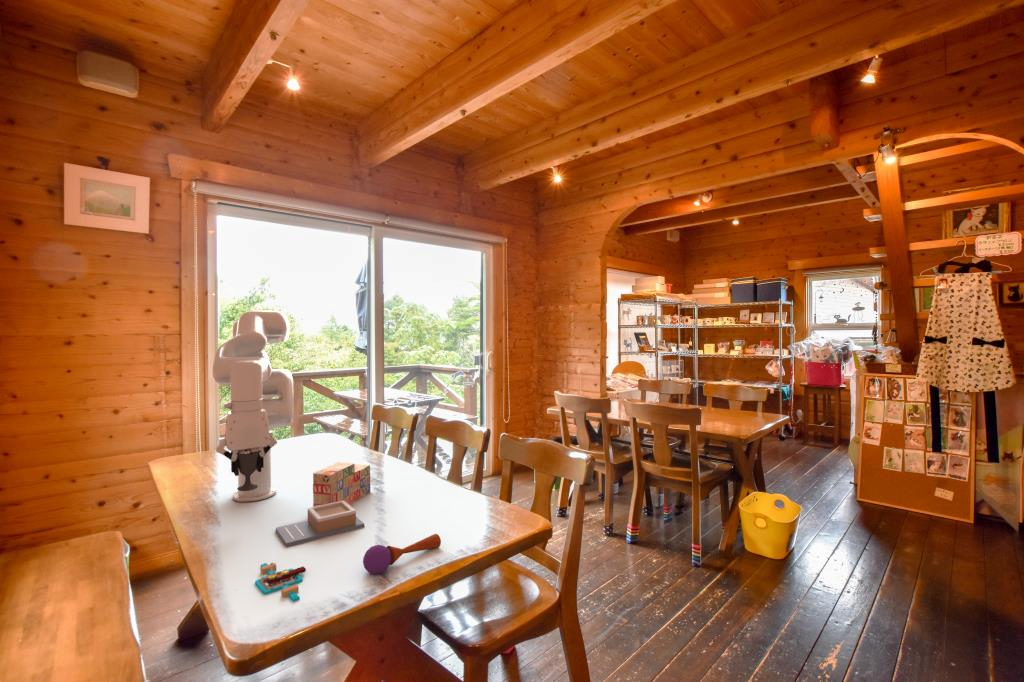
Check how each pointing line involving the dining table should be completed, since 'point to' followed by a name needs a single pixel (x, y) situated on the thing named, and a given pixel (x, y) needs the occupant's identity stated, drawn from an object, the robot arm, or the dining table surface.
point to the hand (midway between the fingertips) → (247, 471)
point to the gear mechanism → (276, 579)
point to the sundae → (247, 467)
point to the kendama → (394, 553)
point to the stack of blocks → (340, 483)
